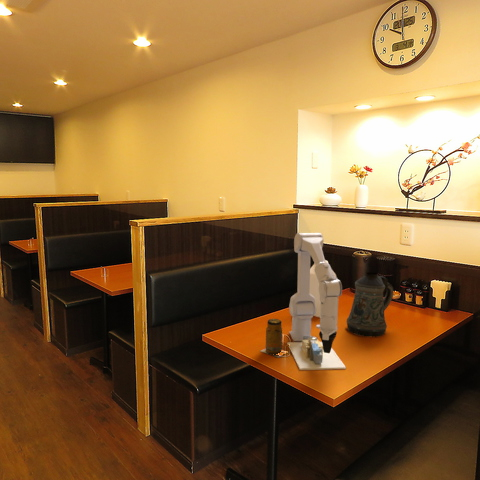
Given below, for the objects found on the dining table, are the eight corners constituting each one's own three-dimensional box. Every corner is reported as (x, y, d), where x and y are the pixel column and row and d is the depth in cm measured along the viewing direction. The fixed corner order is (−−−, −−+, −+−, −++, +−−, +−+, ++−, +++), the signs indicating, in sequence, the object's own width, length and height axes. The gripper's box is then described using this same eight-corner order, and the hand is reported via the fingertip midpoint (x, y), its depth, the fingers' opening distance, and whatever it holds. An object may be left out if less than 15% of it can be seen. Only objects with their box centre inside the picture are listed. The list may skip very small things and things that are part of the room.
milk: (302, 311, 200) (304, 259, 196) (316, 307, 208) (318, 256, 204) (322, 318, 191) (324, 263, 187) (336, 313, 199) (339, 260, 195)
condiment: (272, 345, 159) (273, 316, 157) (290, 352, 153) (291, 321, 152) (260, 351, 154) (260, 320, 152) (278, 358, 148) (279, 326, 146)
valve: (298, 344, 159) (299, 333, 158) (314, 344, 159) (314, 332, 159) (309, 364, 142) (310, 351, 141) (326, 364, 143) (327, 351, 142)
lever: (307, 339, 152) (307, 336, 151) (316, 340, 151) (316, 336, 151) (311, 354, 139) (312, 350, 139) (321, 354, 139) (321, 350, 139)
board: (287, 343, 161) (287, 342, 161) (327, 343, 162) (327, 341, 162) (299, 370, 139) (299, 368, 139) (345, 368, 141) (345, 367, 141)
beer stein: (339, 330, 176) (342, 273, 173) (360, 319, 190) (363, 266, 187) (375, 340, 165) (380, 280, 161) (395, 328, 179) (399, 272, 176)
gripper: (320, 306, 148) (318, 342, 150) (313, 320, 134) (312, 359, 137) (340, 309, 146) (338, 345, 148) (335, 322, 132) (333, 362, 134)
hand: (327, 352), depth 142 cm, fingers closed
